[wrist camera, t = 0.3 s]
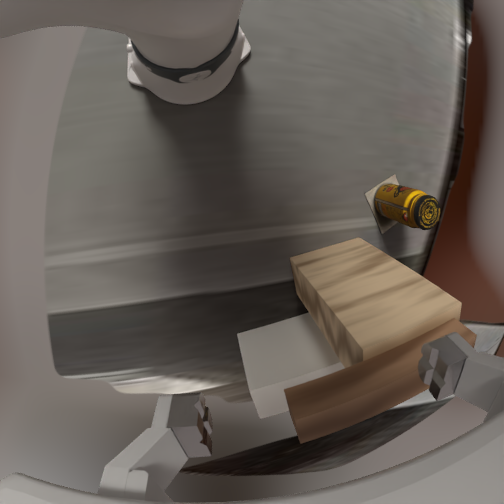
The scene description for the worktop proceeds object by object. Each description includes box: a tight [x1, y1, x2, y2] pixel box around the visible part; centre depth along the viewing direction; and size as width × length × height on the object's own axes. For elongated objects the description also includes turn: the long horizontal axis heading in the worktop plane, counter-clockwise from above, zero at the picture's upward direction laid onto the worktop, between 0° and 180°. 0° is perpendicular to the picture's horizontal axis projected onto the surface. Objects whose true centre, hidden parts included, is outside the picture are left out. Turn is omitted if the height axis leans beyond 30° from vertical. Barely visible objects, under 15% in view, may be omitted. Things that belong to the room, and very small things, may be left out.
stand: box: [290, 237, 462, 368], centre depth 39 cm, size 7×13×26 cm, turn 103°
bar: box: [284, 318, 477, 443], centre depth 25 cm, size 4×20×4 cm, turn 104°
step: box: [237, 312, 345, 419], centre depth 48 cm, size 7×15×15 cm, turn 103°
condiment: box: [365, 175, 440, 234], centre depth 44 cm, size 7×8×12 cm
